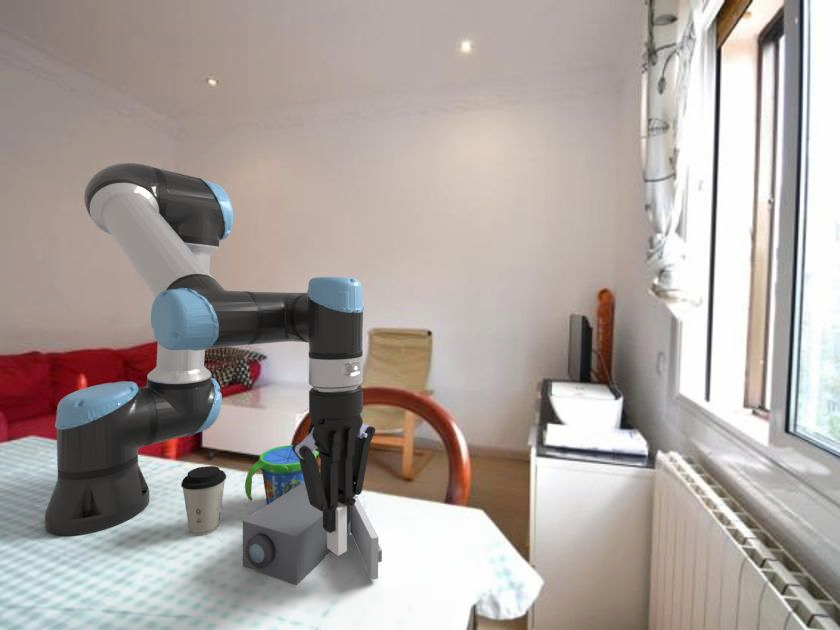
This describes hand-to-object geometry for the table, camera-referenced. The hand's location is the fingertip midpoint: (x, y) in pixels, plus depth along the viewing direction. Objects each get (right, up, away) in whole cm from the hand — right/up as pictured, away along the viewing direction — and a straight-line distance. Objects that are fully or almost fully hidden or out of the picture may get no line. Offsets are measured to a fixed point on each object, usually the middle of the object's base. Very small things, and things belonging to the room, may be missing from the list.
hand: (336, 549), depth 58 cm
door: (+3, -4, +5) cm, 7 cm away
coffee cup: (-26, -4, +12) cm, 29 cm away
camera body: (-7, -4, +7) cm, 11 cm away
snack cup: (-14, -4, +20) cm, 25 cm away
